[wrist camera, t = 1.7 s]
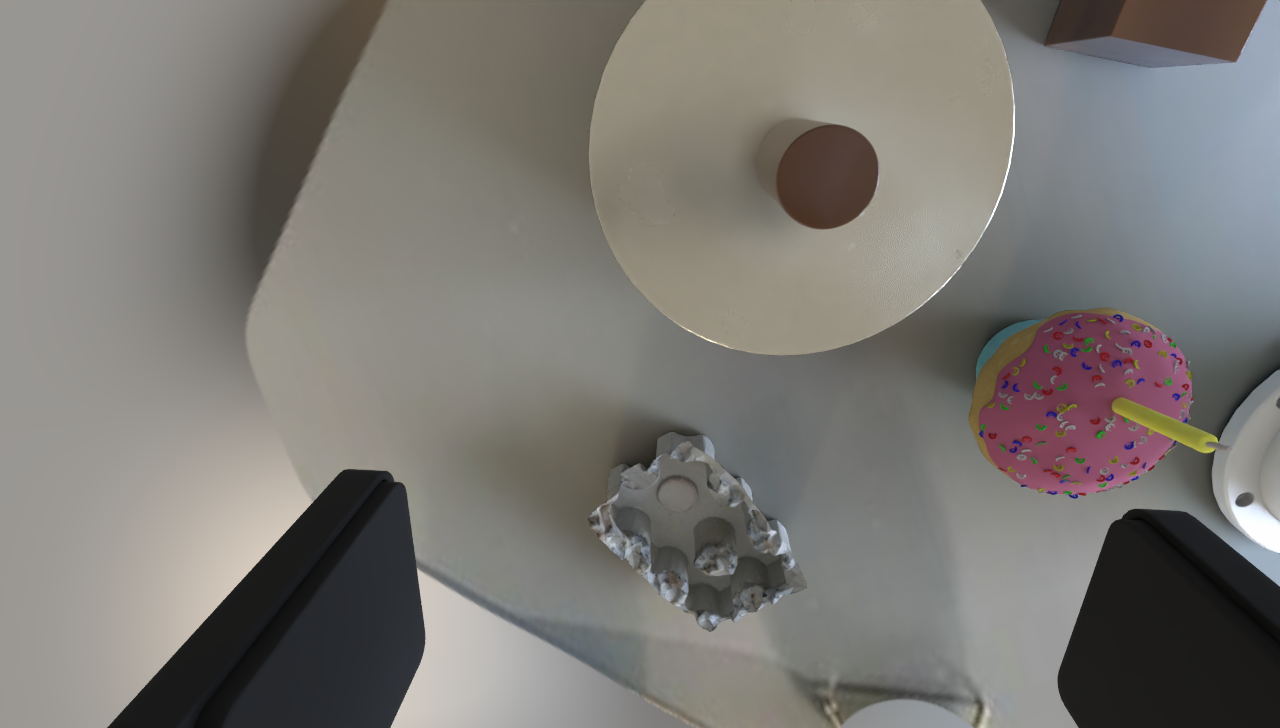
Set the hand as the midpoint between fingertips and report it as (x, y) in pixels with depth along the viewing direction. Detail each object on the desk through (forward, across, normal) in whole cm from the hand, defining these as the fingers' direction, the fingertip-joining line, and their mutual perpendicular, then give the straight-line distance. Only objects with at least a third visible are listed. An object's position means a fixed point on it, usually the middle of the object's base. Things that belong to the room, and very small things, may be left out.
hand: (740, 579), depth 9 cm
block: (+24, -16, -10) cm, 31 cm away
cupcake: (+24, -16, +6) cm, 30 cm away
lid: (+16, -3, -4) cm, 17 cm away
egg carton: (+24, -1, +15) cm, 29 cm away
